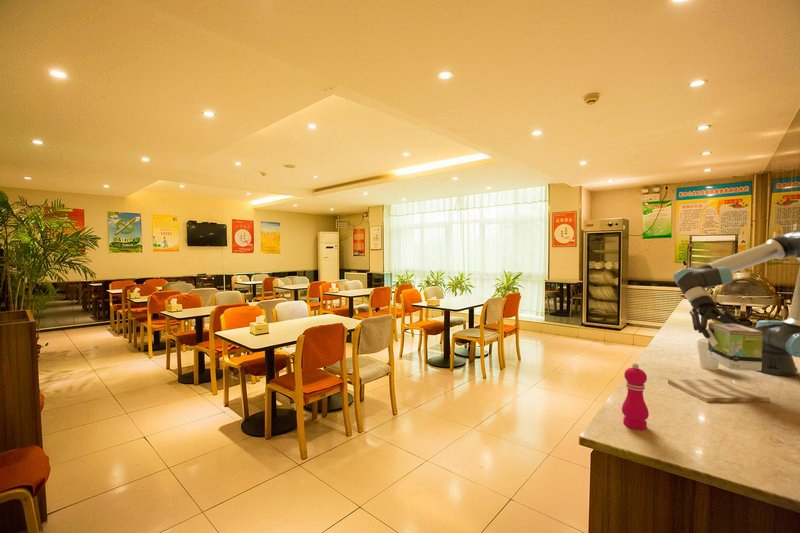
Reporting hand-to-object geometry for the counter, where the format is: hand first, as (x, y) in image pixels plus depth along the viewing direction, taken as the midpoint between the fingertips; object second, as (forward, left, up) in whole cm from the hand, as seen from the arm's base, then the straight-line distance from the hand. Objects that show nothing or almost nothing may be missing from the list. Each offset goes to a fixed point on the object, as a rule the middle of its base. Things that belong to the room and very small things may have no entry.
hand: (731, 344), depth 139 cm
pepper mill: (+53, +25, -19) cm, 62 cm away
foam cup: (-17, -30, -19) cm, 39 cm away
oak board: (+5, -2, -19) cm, 19 cm away
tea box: (+1, +1, -7) cm, 8 cm away
